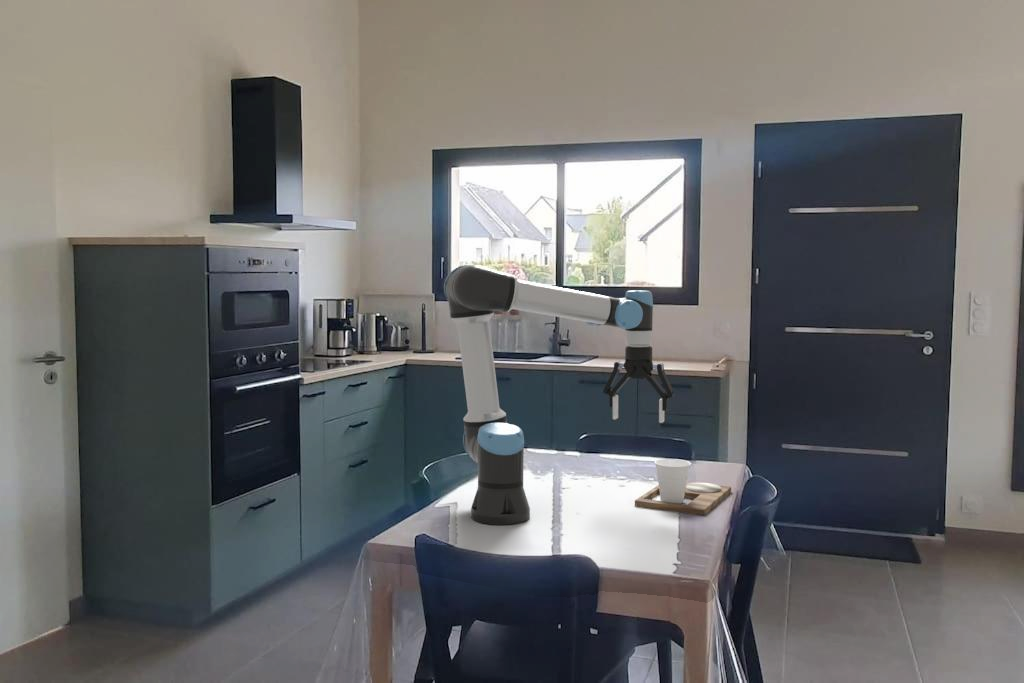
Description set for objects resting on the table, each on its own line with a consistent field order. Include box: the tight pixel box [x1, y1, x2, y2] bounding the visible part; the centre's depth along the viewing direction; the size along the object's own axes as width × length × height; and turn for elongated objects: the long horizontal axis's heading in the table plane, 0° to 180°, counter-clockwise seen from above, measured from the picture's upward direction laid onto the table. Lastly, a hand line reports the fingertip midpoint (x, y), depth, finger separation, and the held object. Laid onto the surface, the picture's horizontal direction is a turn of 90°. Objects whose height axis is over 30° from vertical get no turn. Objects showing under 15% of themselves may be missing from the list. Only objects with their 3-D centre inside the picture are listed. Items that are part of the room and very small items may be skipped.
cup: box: [654, 458, 692, 504], centre depth 240 cm, size 10×10×11 cm
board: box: [634, 481, 732, 516], centre depth 244 cm, size 28×19×2 cm
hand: (638, 420), depth 247 cm, fingers open, 13 cm apart
